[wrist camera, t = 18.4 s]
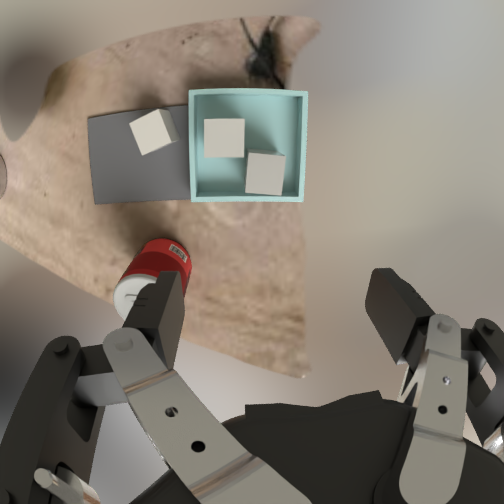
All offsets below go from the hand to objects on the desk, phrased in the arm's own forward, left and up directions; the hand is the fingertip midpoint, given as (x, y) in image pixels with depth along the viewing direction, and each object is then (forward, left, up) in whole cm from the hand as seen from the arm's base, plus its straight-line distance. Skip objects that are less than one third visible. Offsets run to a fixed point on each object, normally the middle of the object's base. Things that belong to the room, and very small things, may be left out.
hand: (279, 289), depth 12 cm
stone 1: (-11, +6, -26) cm, 29 cm away
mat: (-14, +3, -26) cm, 30 cm away
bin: (0, +4, -26) cm, 26 cm away
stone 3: (+1, +1, -26) cm, 26 cm away
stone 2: (-3, +5, -26) cm, 26 cm away
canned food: (-12, -12, -26) cm, 31 cm away
